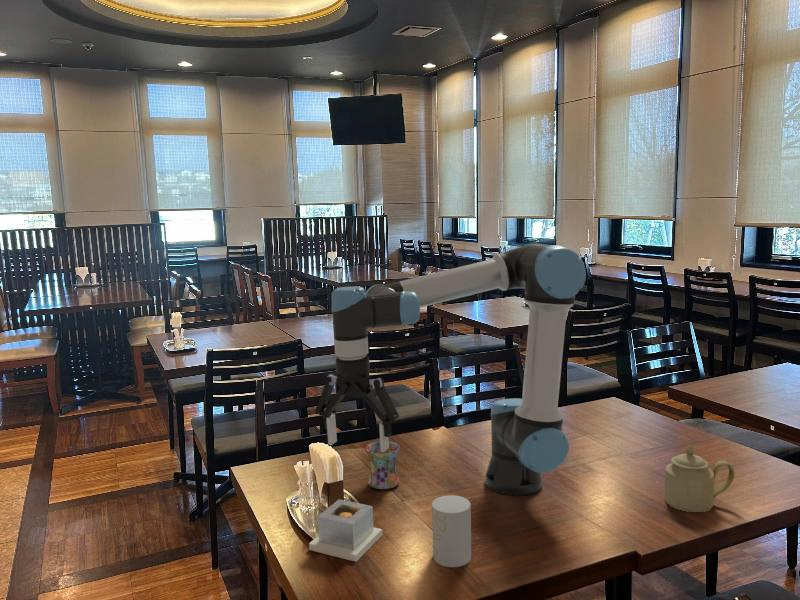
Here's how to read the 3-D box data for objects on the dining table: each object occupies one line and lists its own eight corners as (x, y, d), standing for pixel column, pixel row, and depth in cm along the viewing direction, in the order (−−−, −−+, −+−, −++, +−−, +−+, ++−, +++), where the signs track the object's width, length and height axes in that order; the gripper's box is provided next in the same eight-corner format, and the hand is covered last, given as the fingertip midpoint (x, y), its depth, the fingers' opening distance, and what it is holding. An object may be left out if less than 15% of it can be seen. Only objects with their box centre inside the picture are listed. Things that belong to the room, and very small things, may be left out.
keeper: (382, 535, 146) (381, 508, 145) (356, 561, 135) (355, 533, 134) (337, 525, 151) (336, 499, 150) (309, 549, 141) (307, 522, 140)
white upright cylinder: (430, 547, 140) (429, 496, 138) (467, 545, 141) (466, 494, 139) (436, 568, 132) (434, 514, 130) (474, 565, 133) (473, 511, 131)
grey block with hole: (373, 530, 145) (372, 506, 144) (353, 550, 137) (352, 524, 136) (339, 523, 149) (338, 499, 148) (318, 541, 141) (317, 516, 140)
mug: (404, 489, 169) (403, 451, 168) (370, 494, 167) (369, 455, 166) (393, 471, 181) (392, 436, 179) (361, 476, 179) (360, 440, 177)
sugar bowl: (699, 487, 166) (701, 432, 163) (735, 505, 155) (738, 446, 153) (654, 498, 160) (656, 441, 158) (688, 517, 150) (690, 456, 148)
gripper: (409, 354, 140) (414, 446, 143) (313, 349, 151) (320, 434, 154) (395, 363, 134) (401, 459, 137) (296, 357, 144) (303, 446, 147)
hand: (358, 446), depth 145 cm, fingers open, 13 cm apart
